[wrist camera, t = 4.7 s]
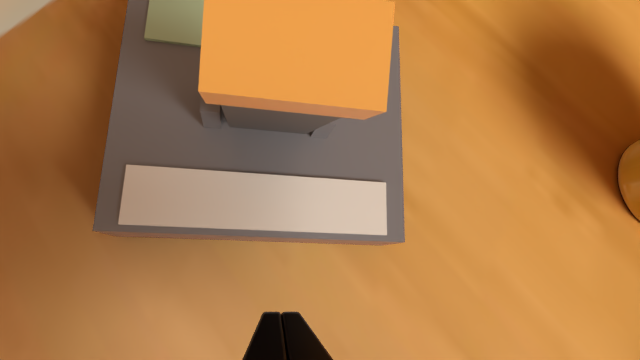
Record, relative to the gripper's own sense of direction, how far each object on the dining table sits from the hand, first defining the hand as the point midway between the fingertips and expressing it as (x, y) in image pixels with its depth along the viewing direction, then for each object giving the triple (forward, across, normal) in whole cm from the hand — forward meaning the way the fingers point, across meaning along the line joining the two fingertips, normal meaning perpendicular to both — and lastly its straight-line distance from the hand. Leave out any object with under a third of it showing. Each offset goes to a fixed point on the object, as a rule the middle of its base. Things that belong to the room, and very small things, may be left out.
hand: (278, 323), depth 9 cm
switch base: (+14, 0, -2) cm, 14 cm away
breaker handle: (+12, 0, 0) cm, 12 cm away
